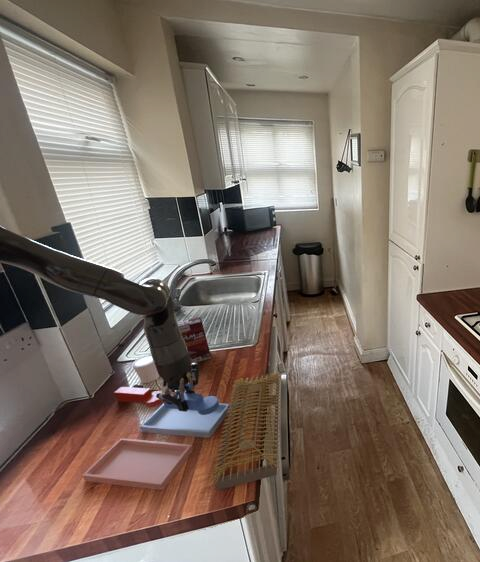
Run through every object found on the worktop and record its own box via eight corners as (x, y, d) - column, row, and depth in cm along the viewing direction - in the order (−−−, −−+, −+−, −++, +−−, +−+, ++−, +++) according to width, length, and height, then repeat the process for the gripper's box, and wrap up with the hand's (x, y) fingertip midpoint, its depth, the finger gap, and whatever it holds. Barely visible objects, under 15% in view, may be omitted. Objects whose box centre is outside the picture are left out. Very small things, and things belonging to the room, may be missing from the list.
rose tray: (85, 481, 71) (81, 475, 71) (123, 443, 81) (120, 437, 80) (163, 490, 69) (160, 484, 68) (193, 450, 78) (191, 444, 77)
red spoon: (114, 404, 94) (109, 395, 92) (128, 392, 99) (125, 383, 97) (156, 407, 92) (153, 398, 91) (169, 395, 97) (166, 386, 95)
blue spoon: (162, 411, 83) (158, 401, 82) (175, 397, 88) (172, 388, 87) (211, 415, 82) (208, 405, 80) (222, 401, 86) (220, 391, 85)
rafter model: (235, 388, 99) (232, 373, 96) (282, 379, 102) (279, 364, 100) (212, 495, 67) (206, 476, 65) (280, 477, 71) (276, 458, 68)
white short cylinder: (167, 372, 108) (161, 355, 105) (150, 385, 101) (143, 368, 99) (151, 369, 109) (145, 353, 106) (133, 382, 103) (126, 365, 100)
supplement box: (185, 366, 110) (173, 328, 104) (184, 360, 114) (173, 322, 108) (212, 358, 114) (201, 321, 108) (210, 352, 118) (200, 315, 112)
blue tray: (142, 432, 84) (139, 426, 83) (169, 404, 93) (167, 399, 92) (210, 438, 81) (208, 432, 81) (231, 409, 91) (229, 403, 90)
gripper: (177, 338, 85) (193, 387, 92) (134, 371, 73) (156, 425, 79) (201, 340, 84) (216, 389, 91) (163, 373, 72) (183, 427, 78)
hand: (188, 406), depth 85 cm, fingers closed on blue spoon, 2 cm apart
